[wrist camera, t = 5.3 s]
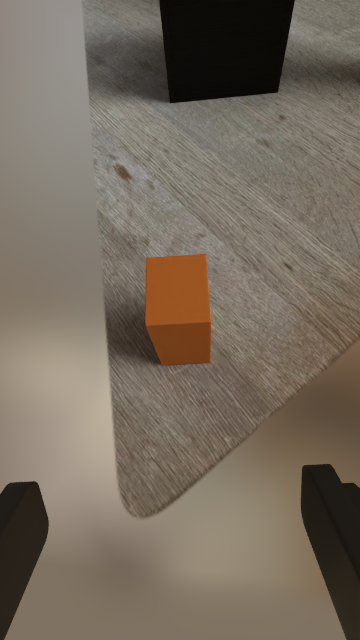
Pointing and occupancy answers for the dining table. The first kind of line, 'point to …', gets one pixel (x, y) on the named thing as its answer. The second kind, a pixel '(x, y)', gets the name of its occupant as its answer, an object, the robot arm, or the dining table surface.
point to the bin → (224, 46)
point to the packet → (178, 309)
